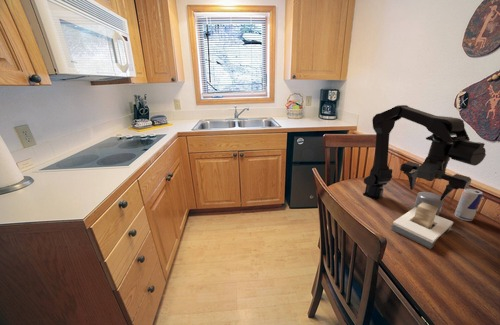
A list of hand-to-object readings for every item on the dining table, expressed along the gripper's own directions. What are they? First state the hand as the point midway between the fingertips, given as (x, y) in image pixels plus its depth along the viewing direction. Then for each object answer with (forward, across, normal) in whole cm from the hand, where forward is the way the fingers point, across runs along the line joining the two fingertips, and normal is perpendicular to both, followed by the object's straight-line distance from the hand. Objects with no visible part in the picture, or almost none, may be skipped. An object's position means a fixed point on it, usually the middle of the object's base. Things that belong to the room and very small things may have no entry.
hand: (425, 194), depth 77 cm
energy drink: (+12, +8, +19) cm, 24 cm away
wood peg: (+12, +3, -4) cm, 13 cm away
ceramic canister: (+12, -1, +12) cm, 17 cm away
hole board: (+12, +3, -4) cm, 13 cm away
